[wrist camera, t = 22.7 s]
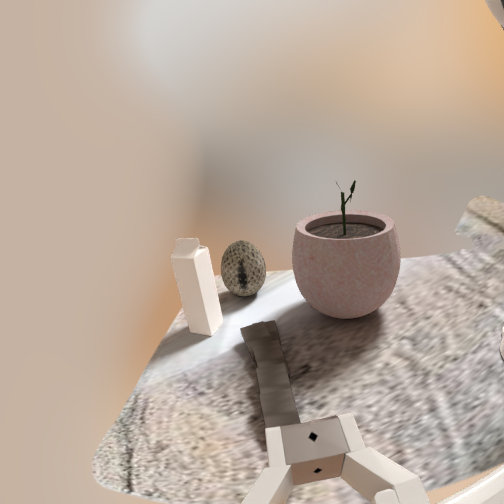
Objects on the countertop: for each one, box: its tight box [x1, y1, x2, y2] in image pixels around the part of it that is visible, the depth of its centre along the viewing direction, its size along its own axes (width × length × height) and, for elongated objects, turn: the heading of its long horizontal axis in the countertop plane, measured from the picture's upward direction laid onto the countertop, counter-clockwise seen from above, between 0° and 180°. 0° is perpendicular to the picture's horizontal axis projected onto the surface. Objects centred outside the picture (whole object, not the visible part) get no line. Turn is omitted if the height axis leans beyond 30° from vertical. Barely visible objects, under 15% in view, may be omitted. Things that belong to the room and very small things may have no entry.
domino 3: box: [253, 340, 290, 378], centre depth 53 cm, size 5×2×8 cm
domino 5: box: [259, 388, 301, 429], centre depth 41 cm, size 5×2×8 cm
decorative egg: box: [221, 241, 266, 296], centre depth 80 cm, size 12×12×15 cm
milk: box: [170, 238, 224, 336], centre depth 65 cm, size 6×6×22 cm
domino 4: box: [256, 363, 295, 401], centre depth 46 cm, size 5×2×8 cm
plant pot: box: [292, 181, 400, 319], centre depth 63 cm, size 24×24×30 cm
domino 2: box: [254, 320, 281, 345], centre depth 63 cm, size 5×2×8 cm
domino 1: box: [240, 321, 273, 361], centre depth 59 cm, size 5×2×8 cm
